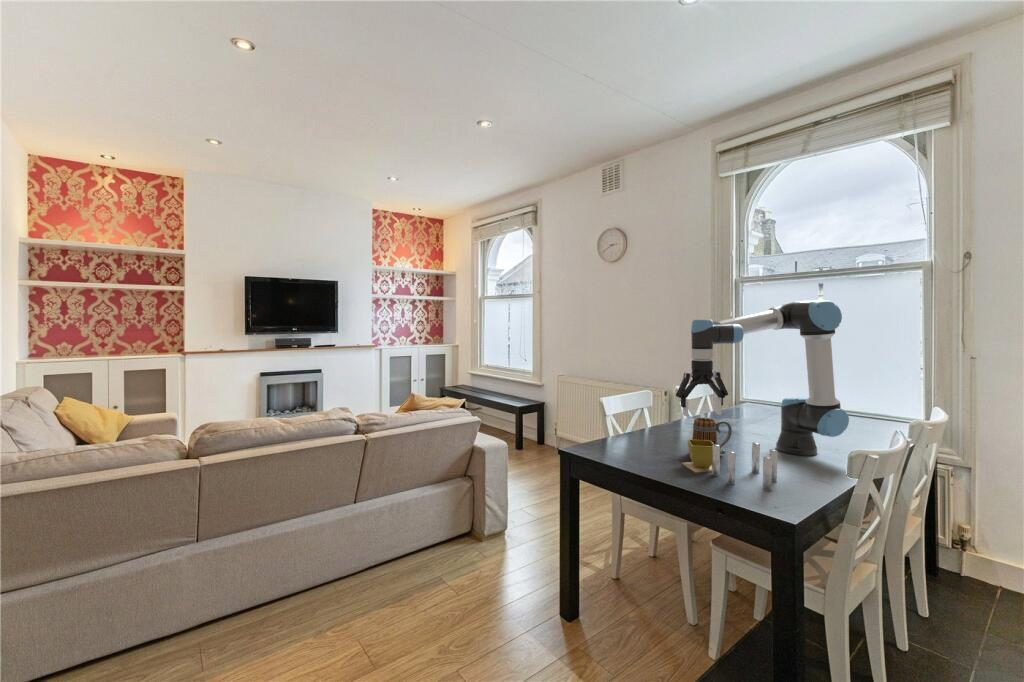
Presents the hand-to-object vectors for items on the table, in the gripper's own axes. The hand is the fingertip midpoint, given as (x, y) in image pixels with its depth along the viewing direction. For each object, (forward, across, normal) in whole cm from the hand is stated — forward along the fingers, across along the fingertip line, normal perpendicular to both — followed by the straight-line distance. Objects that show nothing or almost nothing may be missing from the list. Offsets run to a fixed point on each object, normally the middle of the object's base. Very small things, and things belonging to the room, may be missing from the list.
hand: (701, 415), depth 175 cm
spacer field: (+21, -8, +17) cm, 28 cm away
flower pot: (+20, 0, 0) cm, 20 cm away
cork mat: (+20, +1, 0) cm, 20 cm away
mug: (+21, -12, -14) cm, 28 cm away
